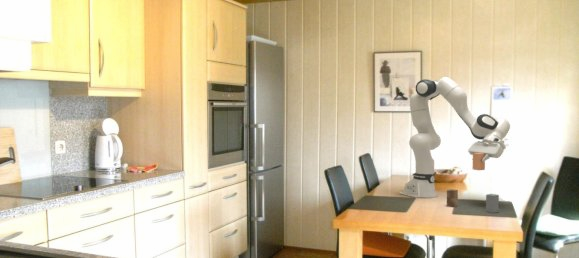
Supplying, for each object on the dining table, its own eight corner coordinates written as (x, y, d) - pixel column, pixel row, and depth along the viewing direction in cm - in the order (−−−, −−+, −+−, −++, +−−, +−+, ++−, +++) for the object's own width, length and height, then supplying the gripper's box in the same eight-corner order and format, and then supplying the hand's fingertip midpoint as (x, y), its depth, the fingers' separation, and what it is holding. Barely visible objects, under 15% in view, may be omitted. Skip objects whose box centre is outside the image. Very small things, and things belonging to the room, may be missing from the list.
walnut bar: (446, 206, 283) (446, 190, 282) (449, 204, 286) (449, 189, 286) (454, 207, 280) (454, 191, 279) (457, 205, 283) (457, 189, 283)
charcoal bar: (485, 211, 269) (486, 194, 268) (490, 210, 272) (490, 193, 271) (493, 212, 265) (494, 195, 265) (498, 211, 268) (498, 194, 268)
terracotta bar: (472, 169, 282) (472, 153, 282) (478, 168, 284) (478, 152, 284) (478, 170, 278) (479, 154, 278) (484, 169, 280) (485, 153, 280)
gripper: (473, 137, 293) (460, 155, 289) (503, 139, 275) (489, 158, 271) (479, 144, 295) (466, 162, 291) (508, 147, 277) (495, 166, 273)
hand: (477, 160), depth 281 cm, fingers closed on terracotta bar, 4 cm apart
